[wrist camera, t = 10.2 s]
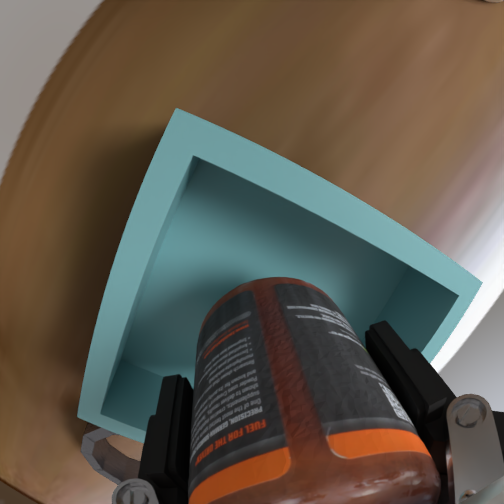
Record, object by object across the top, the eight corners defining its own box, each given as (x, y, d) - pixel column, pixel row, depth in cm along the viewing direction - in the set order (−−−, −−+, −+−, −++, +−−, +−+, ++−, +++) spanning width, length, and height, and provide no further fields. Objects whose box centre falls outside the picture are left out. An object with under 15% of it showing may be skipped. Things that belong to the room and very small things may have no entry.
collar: (100, 378, 16) (88, 406, 14) (233, 423, 18) (235, 453, 16) (85, 446, 19) (78, 469, 16) (189, 480, 21) (188, 504, 18)
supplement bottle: (187, 377, 13) (172, 635, 3) (215, 254, 11) (213, 657, 1) (311, 394, 14) (381, 610, 4) (361, 287, 12) (541, 527, 2)
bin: (193, 121, 12) (176, 108, 8) (423, 245, 15) (482, 282, 11) (105, 353, 16) (77, 416, 11) (304, 417, 19) (321, 477, 14)
